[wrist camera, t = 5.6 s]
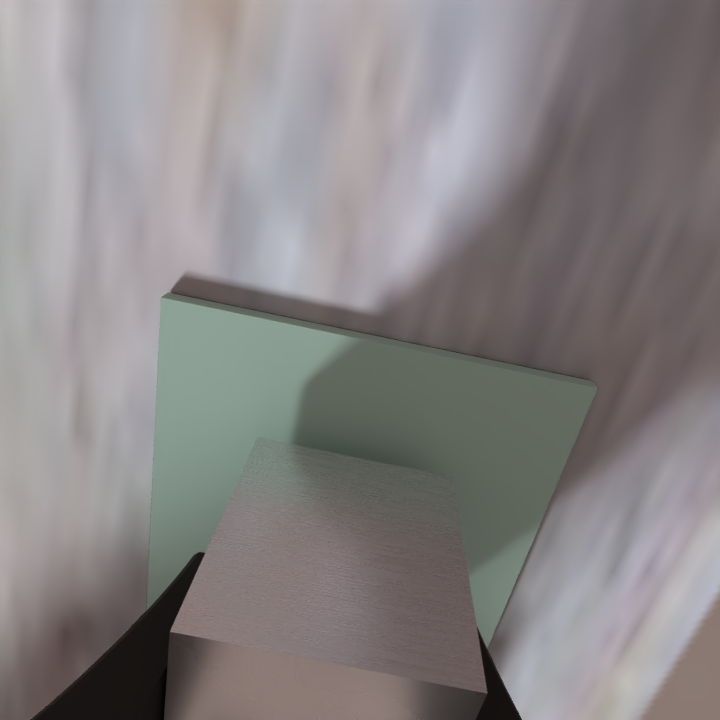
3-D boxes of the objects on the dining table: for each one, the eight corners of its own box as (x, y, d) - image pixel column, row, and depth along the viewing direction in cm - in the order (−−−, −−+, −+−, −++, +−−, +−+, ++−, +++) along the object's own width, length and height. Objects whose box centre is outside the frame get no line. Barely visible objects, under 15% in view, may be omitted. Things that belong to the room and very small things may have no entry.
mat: (472, 667, 16) (473, 679, 16) (151, 604, 16) (145, 615, 16) (591, 381, 12) (597, 388, 12) (168, 292, 12) (160, 297, 12)
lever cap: (394, 653, 14) (393, 960, 9) (232, 621, 14) (135, 912, 9) (452, 476, 12) (497, 755, 7) (257, 437, 12) (145, 687, 7)
